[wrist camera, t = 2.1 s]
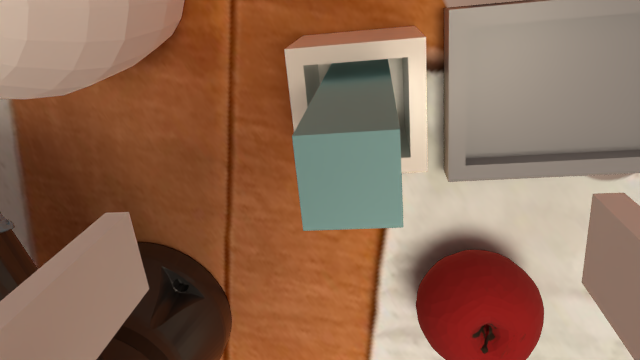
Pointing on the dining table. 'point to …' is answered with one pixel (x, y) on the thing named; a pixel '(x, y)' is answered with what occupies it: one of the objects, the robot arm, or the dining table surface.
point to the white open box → (388, 43)
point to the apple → (479, 308)
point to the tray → (541, 89)
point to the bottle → (77, 42)
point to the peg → (350, 151)
